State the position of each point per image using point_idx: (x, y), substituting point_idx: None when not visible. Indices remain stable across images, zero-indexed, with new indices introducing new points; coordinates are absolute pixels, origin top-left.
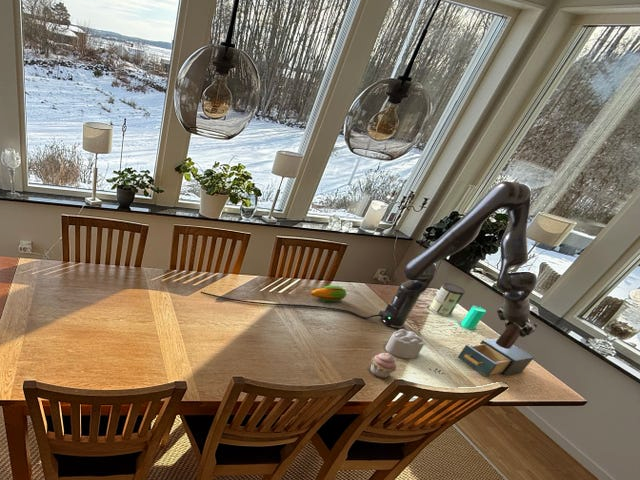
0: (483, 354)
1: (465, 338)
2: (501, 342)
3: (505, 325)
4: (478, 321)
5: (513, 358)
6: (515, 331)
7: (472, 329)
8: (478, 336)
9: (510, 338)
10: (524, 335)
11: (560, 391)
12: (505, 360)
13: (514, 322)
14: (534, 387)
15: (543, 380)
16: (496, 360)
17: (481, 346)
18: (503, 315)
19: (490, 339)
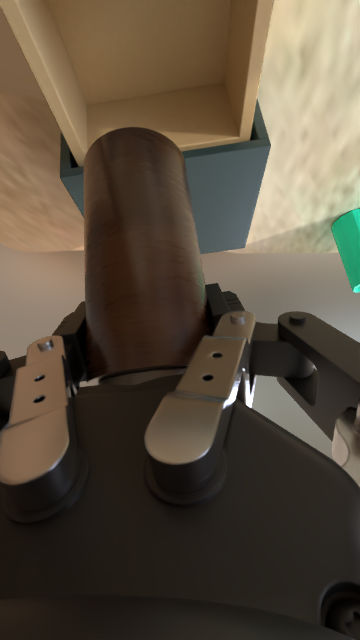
0: (204, 98)
1: (332, 158)
2: (124, 157)
3: (232, 294)
4: (342, 252)
5: (83, 183)
6: (100, 309)
7: (334, 223)
8: (304, 215)
9: (94, 230)
10: (63, 324)
11: (27, 242)
12: (71, 127)
13: (35, 469)
14: (13, 181)
15: (76, 236)
16: (133, 119)
17: (240, 101)
18: (313, 366)
19: (253, 197)
